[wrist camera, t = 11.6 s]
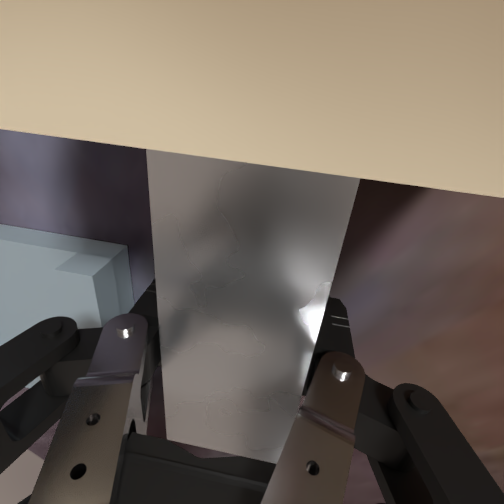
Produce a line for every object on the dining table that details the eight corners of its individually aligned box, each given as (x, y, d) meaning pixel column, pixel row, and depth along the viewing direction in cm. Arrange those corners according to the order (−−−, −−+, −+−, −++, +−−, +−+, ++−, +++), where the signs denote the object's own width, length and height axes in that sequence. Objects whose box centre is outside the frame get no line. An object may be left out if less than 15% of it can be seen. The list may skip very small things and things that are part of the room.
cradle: (144, 392, 18) (122, 434, 16) (-1, 361, 19) (-40, 397, 17) (127, 245, 13) (92, 276, 11) (-66, 212, 14) (-134, 235, 12)
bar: (288, 368, 15) (282, 464, 11) (201, 351, 16) (167, 439, 12) (416, -205, 7) (583, -640, 3) (212, -211, 7) (92, -593, 3)
